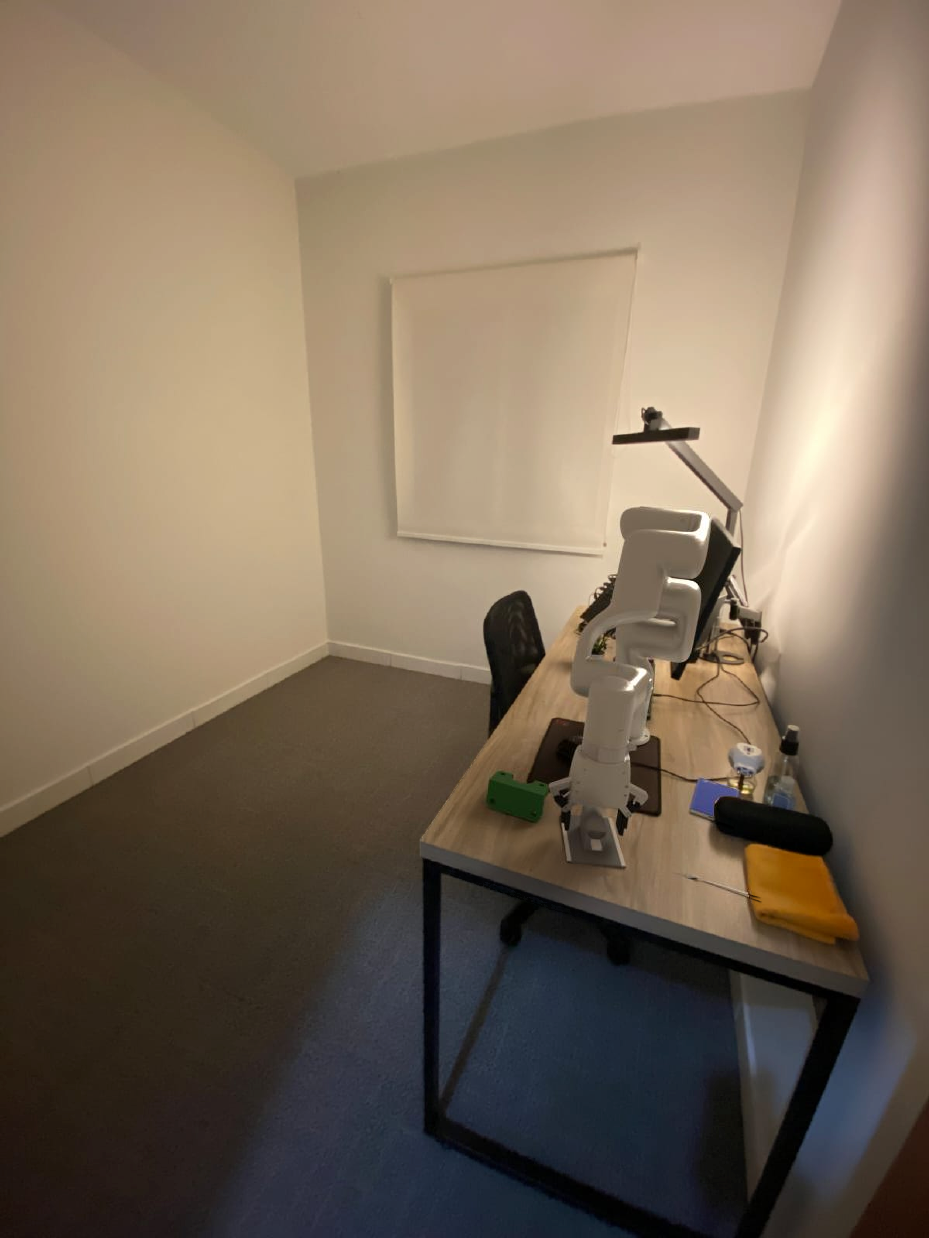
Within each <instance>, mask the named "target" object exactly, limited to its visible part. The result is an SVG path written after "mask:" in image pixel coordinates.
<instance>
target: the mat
mask: <svg viewBox="0 0 929 1238" xmlns="http://www.w3.org/2000/svg"><path fill="white" fill-rule="evenodd" d="M560 816H561V813H559V817H560ZM580 816H581V814H580V815H577V814H571V819H570V827H569V830H568V831H565V828H564V823H561V822H560V825H561V831H562V837H563V845H564V851H565V856H566V858H565V859H566V862H567V863H568V864H580V865H589V866H599V867H609V868H611V867H612V868H621V869H622V868H623V869H626V867H627V864H626V861H625V858H624V855H623V852H622V848H621V846H620V842H619V838H618V833H617V832H616V828H615V827H616V826H615V824H614V820H613V818H612V817H603V818H604V822H605V826H606V829H607V834H606V840H605V846H604V851H593V850H584V848H583V843H582V838H581V833H580V828H579V824H580Z"/></svg>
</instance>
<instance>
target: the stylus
mask: <svg viewBox="0 0 929 1238" xmlns="http://www.w3.org/2000/svg"><path fill="white" fill-rule="evenodd" d="M666 870H668V871H670V872H673V873H675V874H678V875H680V876H682V877H684V878H688V879H691V880H697V879H698V880H701V881H703V882H706V883H708V884H711V885H713V886H716V887H719V888H722V889H724V890H728V891H730V892H733V893H735V894H738V895H741V896H744V897H747V898H749V895H748V893H749V892H746V891H743V890H739V889H736V888H733V887H729V886H725V885H722V884H719V883H715V882H712V881H708V880H704V879H701V876H698V875H694V874H689V873H685V872H681V871H677V870H672V869H668V868H666Z"/></svg>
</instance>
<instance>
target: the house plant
mask: <svg viewBox="0 0 929 1238" xmlns="http://www.w3.org/2000/svg"><path fill="white" fill-rule="evenodd" d="M591 620H592V619H591ZM591 620H590V621H591ZM590 621H589V622H590ZM575 625H577V626H578V624H575ZM579 626H580V627H582V629H583V630H584V629H585V627H584V626H582V625H580V624H579ZM612 632H613V630H612V631H610V632H609V633H608V634H607V635H606V636H605V637H604V638H603V640H601V638H602V635H601V636H600V637H599V638H598V639H597V640H596V642H595V644H594V646H593V649H592V652H591V657H593V658H599V659H604V660H605V657H606V654H607V653H606V651H605V650H606V649H613V647H611V646H609V645H608V643H606V642H607V641H610V640H611V641H612V638H611V639H610V634H611V633H612ZM613 635H615V633H614V634H612V636H613ZM608 636H609V637H608ZM575 637H577V638H578V639H579V638H580V636H575ZM607 646H609V647H607Z"/></svg>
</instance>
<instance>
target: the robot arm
mask: <svg viewBox="0 0 929 1238" xmlns="http://www.w3.org/2000/svg"><path fill="white" fill-rule="evenodd" d="M711 525H712V524H711V519H710V517H709V516H708V515H707V514H706V513H705V512H701V511H698V510H697V511H694V510H686V509H673V508H672V509H671V508H662V507H661V508H660V507H649V506H648V507H647V506H645V507H644V506H643V507H642V506H636V507H634V506H633V507H629V508H627V509H625V510H624V511H623V512H622V513H621V516H620V520H619V527H620V528H619V529H620V534H621V537H622V538H623V540H624V541H623V545H622V549H621V554H620V558H619V563H618V568H617V573H616V577H615V581H614V587H613V592H612V597H611V601H610V604H609V605H608V606H607V607H606V608H605V609H604V610H602V611H600V613H598V614H597V615H595V616H594V618H592V619H591V621H589V622H588V623H587V624H586V625H585V627H584V628H585V629H583V630H582V631H581V633H580V635H579V637H580V638H579V637H578V640H577V644H576V647H575V652H574V657H573V660H572V664H571V669H570V677H569V685H570V689H571V690H572V692H574V694H576V695H578V696H580V697H583V698H587V705H586V712H585V718H584V719H585V720H584V728H583V734H582V735H583V736H582V741H581V742H582V743H581V744H579V745H578V746H576V749H575V751H574V754H573V757H572V760H571V764H570V765H571V766H570V768H569V774H568V776H567V777H564V778H561V779H559V780H556V781H553V782H549V784H548V785H549V792H550V793H551V794H550V795H551V797H552V798H553V801H554V803H556V805H557V806H558V807H560V814H561V816H560V815H559V818H560V824H561V823H564V828H565V831H568V830H569V827H570V819H571V815H572V811H571V810H572V809H573V808H574V807H575V806H582V805H583V806H592V807H601V808H606V809H617V813H616V818H615V827H616V828H615V829H616V830H617V835H619V836H621V837H623V836H624V833H625V830H627V829H628V824H629V818H632V817H633V814H634V813H635V812H637V811H639V810H641V808H642V805H644V804H645V803H646V801H647V800H648V799H649V795H648V793H647V791H646V790H644V789H642V788H640V787H639V786H637V785H635V784H633V783H631V759H630V754H629V753H630V752H633V751H634V752H635V751H637V746H641V745H644V744H646V743H648V742H649V741H650V739H651V733H650V730H649V729H648V727H646V723H647V715H648V712H649V707H650V705H649V704H650V700H651V697H652V694H653V689H654V676H655V675H654V674H655V673H654V669H653V667H652V666H653V665H652V664H651V663H650V661H649V660H648V659H655V660H661V661H666V662H671V663H683V662H686V661H687V660H688V659H689V658H690V655H691V654H692V649H693V645H694V640H695V636H696V631H697V626H698V620H699V615H700V611H701V603H702V602H701V601H702V591H701V588H700V586H699V585H698V583H696V582H695V581H693V579H695V578H697V577H698V576H699V575H700V574H701V572H702V570H703V568H704V565H705V563H706V559H707V554H708V549H709V542H710V536H711V535H710V534H711V529H712V528H711ZM691 579H692V580H691ZM613 629H615V657H614V659H615V660H608V659H605V658H604V659H599V658H593V657H591V652H592V649H593V646H594V644H595V642H596V640H597V639H598V638H599V637H600V636H601V637H602V635H603V634H605V633H606V632H609V631H610V630H613ZM562 790H568V792H566V793H565V794H564V795H562V793H561V792H560V791H562ZM630 794H631V795H633V796H635V797H634V798H632V799H631V800H629V798H630Z"/></svg>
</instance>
